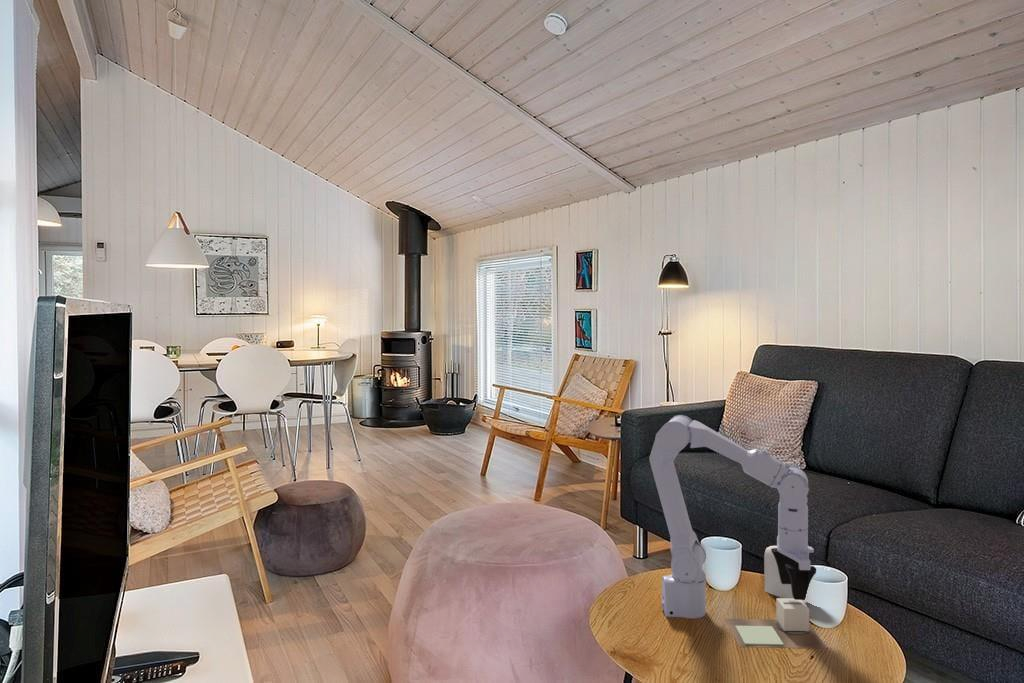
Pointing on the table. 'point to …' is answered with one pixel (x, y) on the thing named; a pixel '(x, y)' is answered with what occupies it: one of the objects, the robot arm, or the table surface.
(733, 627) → the board
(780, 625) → the post
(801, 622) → the slotted tissue box
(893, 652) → the table surface
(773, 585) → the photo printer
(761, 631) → the mat
